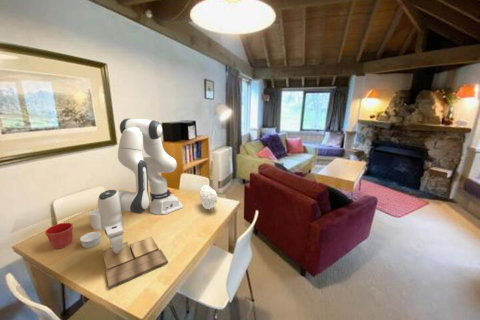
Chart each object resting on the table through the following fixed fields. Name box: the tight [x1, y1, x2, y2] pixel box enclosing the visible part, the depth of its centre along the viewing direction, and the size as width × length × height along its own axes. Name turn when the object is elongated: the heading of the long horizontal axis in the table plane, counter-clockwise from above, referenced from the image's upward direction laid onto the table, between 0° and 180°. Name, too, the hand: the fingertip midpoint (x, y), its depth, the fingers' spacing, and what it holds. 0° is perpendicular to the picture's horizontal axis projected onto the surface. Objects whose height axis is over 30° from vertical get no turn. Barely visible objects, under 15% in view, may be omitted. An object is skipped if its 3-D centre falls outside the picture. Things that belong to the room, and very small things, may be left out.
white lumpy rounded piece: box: [199, 184, 218, 212], centre depth 150 cm, size 18×11×17 cm, turn 32°
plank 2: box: [129, 236, 160, 260], centre depth 108 cm, size 11×12×2 cm
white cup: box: [88, 208, 102, 230], centre depth 125 cm, size 8×8×10 cm
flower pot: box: [44, 222, 74, 250], centre depth 109 cm, size 11×11×10 cm
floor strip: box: [105, 248, 169, 290], centre depth 96 cm, size 24×11×2 cm, turn 129°
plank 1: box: [101, 241, 134, 271], centre depth 100 cm, size 11×12×2 cm
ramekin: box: [79, 231, 101, 249], centre depth 111 cm, size 9×9×4 cm
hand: (116, 248), depth 102 cm, fingers open, 5 cm apart
